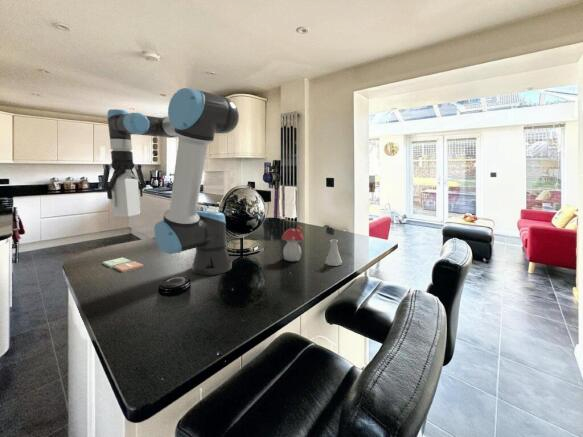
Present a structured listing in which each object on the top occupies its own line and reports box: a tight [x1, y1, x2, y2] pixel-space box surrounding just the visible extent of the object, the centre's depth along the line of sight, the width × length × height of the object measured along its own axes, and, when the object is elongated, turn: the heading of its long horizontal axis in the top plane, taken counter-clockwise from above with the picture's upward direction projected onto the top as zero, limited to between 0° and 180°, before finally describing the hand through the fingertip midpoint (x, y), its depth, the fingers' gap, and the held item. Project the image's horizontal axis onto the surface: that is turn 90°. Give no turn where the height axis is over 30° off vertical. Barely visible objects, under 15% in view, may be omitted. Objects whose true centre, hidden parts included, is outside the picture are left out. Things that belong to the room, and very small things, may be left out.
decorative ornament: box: [281, 225, 304, 262], centre depth 128 cm, size 9×7×15 cm
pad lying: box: [113, 260, 144, 273], centre depth 120 cm, size 8×8×1 cm
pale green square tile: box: [102, 256, 132, 268], centre depth 125 cm, size 8×8×1 cm
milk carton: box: [109, 170, 141, 218], centre depth 122 cm, size 7×7×19 cm
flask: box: [324, 239, 343, 267], centre depth 123 cm, size 7×7×10 cm
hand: (126, 205), depth 123 cm, fingers closed on milk carton, 9 cm apart
